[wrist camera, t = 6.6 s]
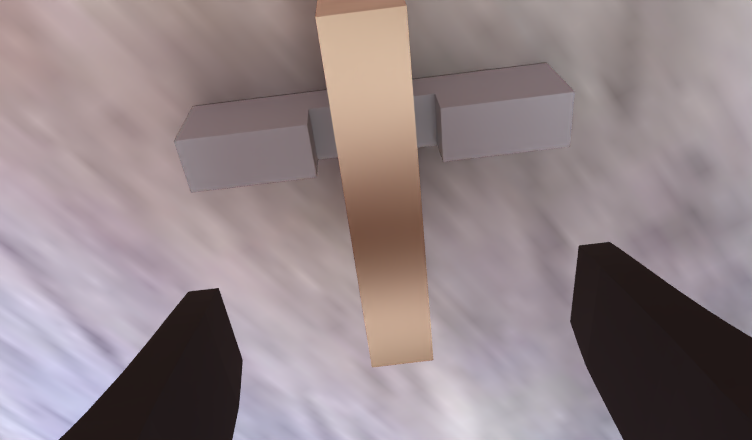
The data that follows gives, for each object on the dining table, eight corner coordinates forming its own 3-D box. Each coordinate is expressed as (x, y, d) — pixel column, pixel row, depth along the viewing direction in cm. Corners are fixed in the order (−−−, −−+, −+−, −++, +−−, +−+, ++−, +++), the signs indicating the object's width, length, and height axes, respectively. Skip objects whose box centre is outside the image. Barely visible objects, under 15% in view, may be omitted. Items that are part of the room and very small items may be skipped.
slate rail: (546, 62, 19) (574, 91, 17) (543, 112, 20) (569, 146, 18) (192, 106, 19) (174, 141, 17) (207, 153, 20) (190, 192, 18)
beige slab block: (322, -43, 17) (315, 17, 11) (382, -51, 17) (406, 5, 11) (362, 231, 23) (371, 367, 17) (408, 226, 23) (433, 359, 17)
